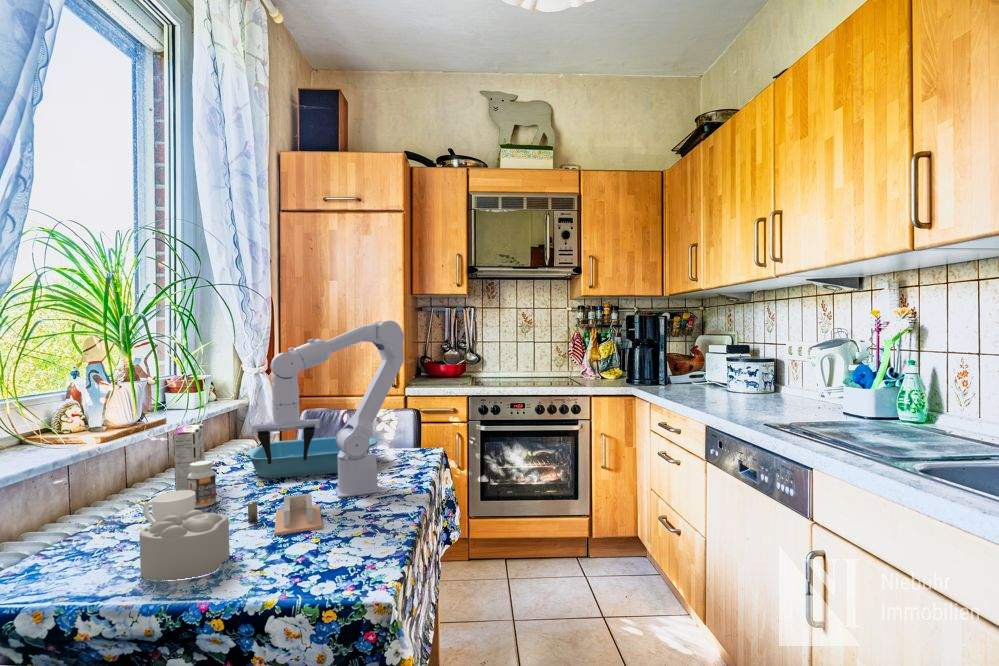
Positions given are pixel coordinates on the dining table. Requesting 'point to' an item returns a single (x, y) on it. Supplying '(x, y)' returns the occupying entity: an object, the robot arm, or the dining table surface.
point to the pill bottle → (202, 483)
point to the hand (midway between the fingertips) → (287, 461)
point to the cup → (170, 505)
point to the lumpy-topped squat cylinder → (184, 546)
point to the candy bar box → (187, 452)
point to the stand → (252, 512)
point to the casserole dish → (298, 458)
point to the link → (298, 507)
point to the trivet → (297, 521)
